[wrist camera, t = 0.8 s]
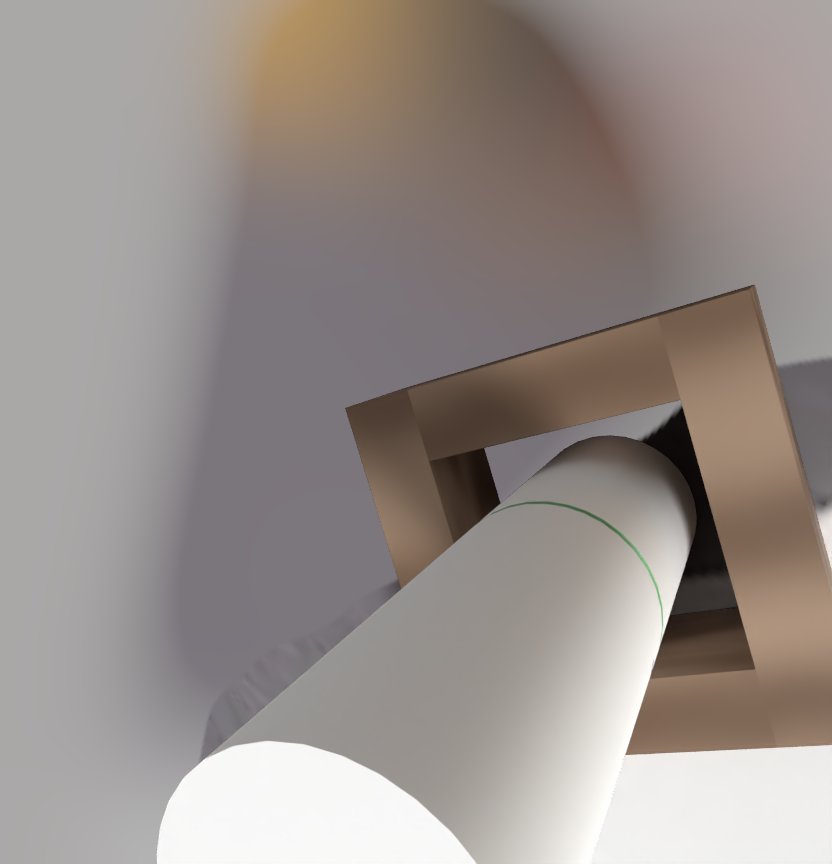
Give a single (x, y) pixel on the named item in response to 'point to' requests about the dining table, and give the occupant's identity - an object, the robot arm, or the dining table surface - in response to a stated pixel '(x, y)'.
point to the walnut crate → (723, 479)
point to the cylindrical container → (467, 691)
